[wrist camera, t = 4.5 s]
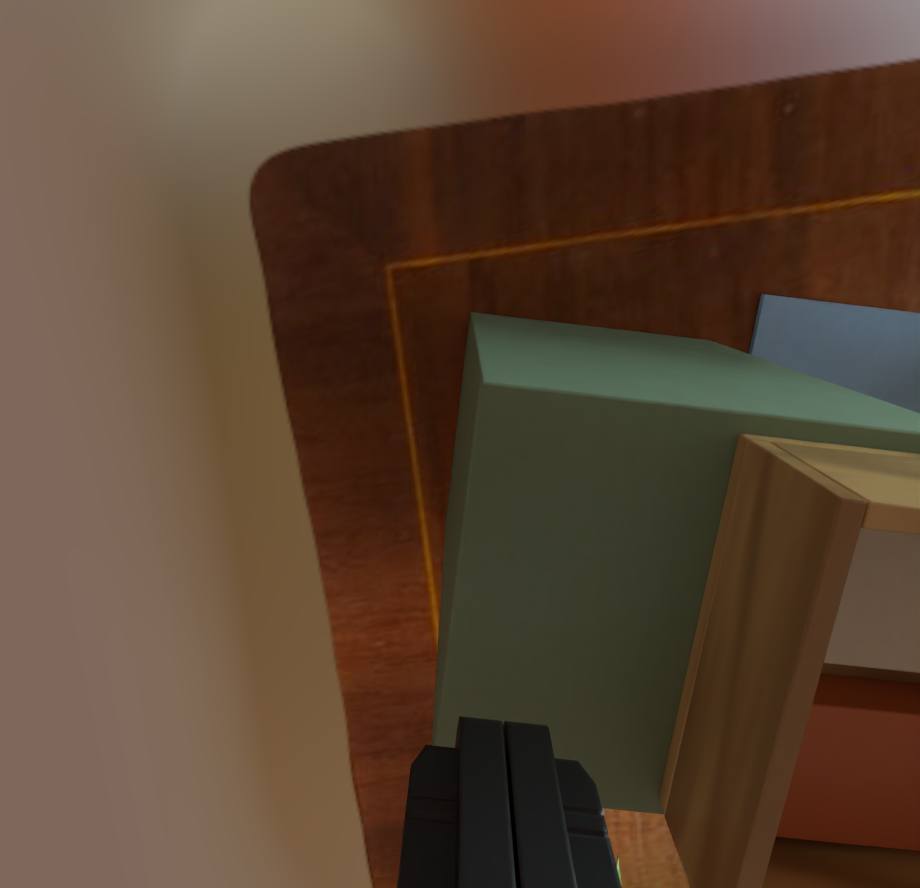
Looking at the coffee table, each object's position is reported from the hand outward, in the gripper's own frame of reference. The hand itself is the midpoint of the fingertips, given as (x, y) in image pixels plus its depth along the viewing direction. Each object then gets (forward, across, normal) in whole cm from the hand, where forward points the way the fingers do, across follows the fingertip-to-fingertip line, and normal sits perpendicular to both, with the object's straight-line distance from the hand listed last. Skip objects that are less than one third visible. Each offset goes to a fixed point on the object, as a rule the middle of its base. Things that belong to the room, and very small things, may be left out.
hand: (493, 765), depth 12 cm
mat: (+26, -18, -3) cm, 32 cm away
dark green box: (+26, -5, 0) cm, 26 cm away
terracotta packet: (+5, -9, +2) cm, 11 cm away
